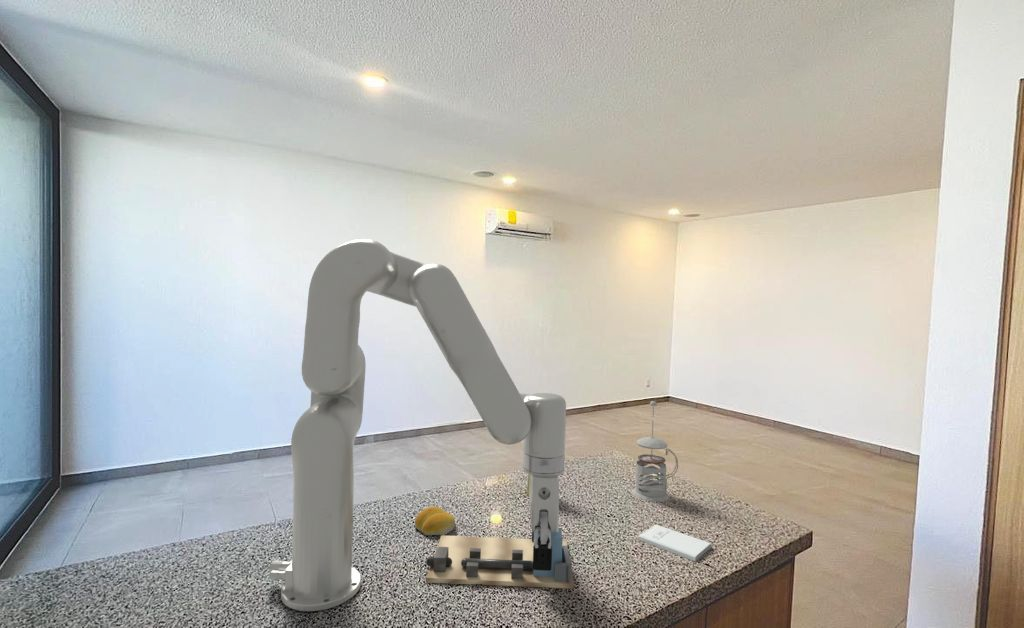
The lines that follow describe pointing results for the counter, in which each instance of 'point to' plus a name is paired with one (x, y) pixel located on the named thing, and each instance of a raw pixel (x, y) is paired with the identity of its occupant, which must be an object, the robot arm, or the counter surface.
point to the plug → (527, 565)
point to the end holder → (563, 567)
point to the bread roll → (434, 521)
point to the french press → (652, 470)
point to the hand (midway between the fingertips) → (541, 555)
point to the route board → (459, 547)
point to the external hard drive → (675, 542)
